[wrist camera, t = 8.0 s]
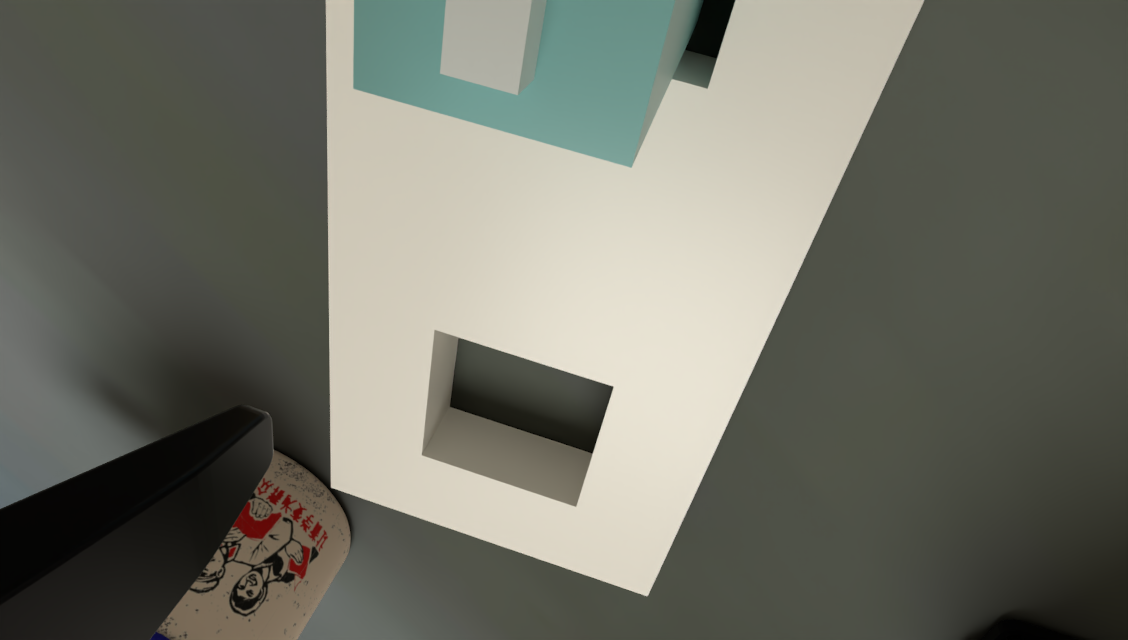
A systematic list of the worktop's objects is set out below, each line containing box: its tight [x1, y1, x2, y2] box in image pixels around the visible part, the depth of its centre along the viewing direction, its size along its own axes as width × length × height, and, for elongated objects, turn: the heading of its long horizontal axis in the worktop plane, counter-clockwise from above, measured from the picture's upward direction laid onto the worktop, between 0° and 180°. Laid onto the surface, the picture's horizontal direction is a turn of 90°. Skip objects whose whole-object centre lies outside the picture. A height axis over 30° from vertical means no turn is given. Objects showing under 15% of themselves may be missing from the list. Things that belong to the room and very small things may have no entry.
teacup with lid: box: [150, 450, 351, 640], centre depth 28 cm, size 12×9×12 cm
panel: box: [326, 0, 924, 596], centre depth 19 cm, size 12×26×3 cm, turn 169°
